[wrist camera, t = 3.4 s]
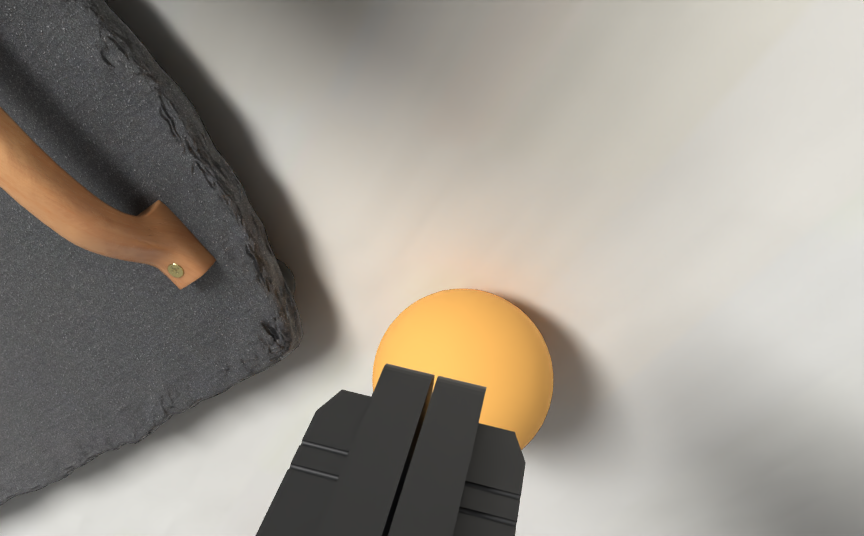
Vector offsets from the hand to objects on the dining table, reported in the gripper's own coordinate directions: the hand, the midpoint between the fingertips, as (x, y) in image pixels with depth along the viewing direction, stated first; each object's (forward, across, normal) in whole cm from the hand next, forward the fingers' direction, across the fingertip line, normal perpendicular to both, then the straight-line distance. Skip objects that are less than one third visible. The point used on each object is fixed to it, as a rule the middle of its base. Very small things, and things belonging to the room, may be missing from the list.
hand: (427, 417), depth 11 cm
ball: (+11, 0, +9) cm, 15 cm away
